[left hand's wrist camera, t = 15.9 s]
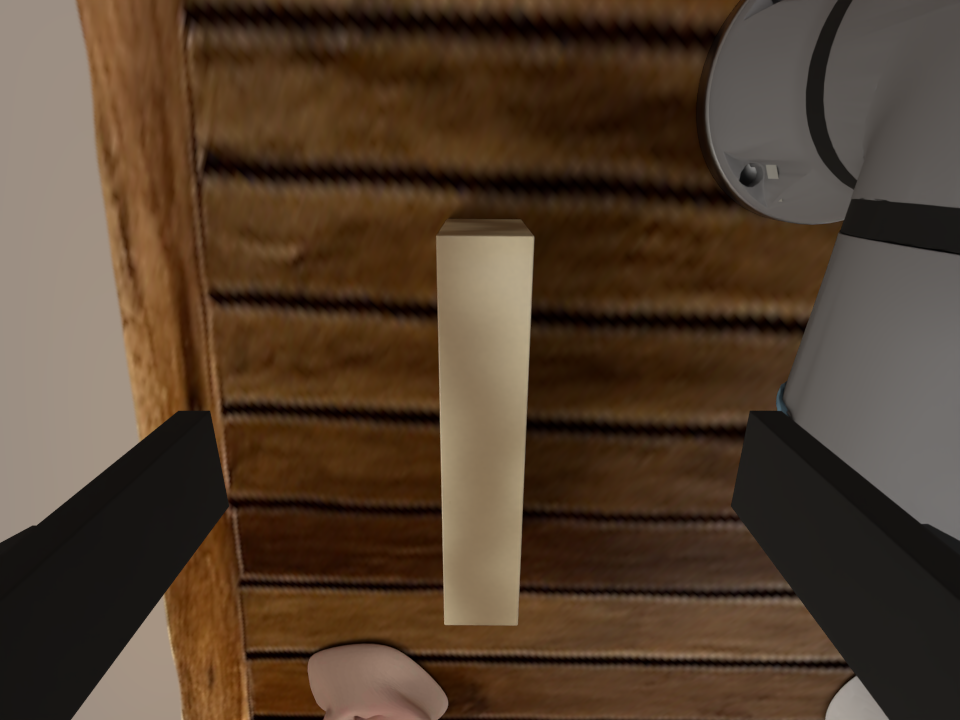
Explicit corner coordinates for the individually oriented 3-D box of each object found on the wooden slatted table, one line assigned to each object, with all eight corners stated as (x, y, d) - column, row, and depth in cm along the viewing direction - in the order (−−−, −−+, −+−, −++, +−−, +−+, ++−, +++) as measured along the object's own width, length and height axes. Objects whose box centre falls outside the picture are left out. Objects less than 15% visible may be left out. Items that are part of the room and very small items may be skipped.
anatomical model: (269, 705, 45) (384, 660, 43) (285, 663, 49) (392, 621, 47) (351, 793, 49) (459, 756, 47) (360, 749, 53) (460, 713, 51)
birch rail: (521, 219, 35) (534, 235, 26) (510, 537, 44) (517, 625, 35) (446, 218, 35) (436, 235, 26) (451, 537, 44) (444, 625, 35)
